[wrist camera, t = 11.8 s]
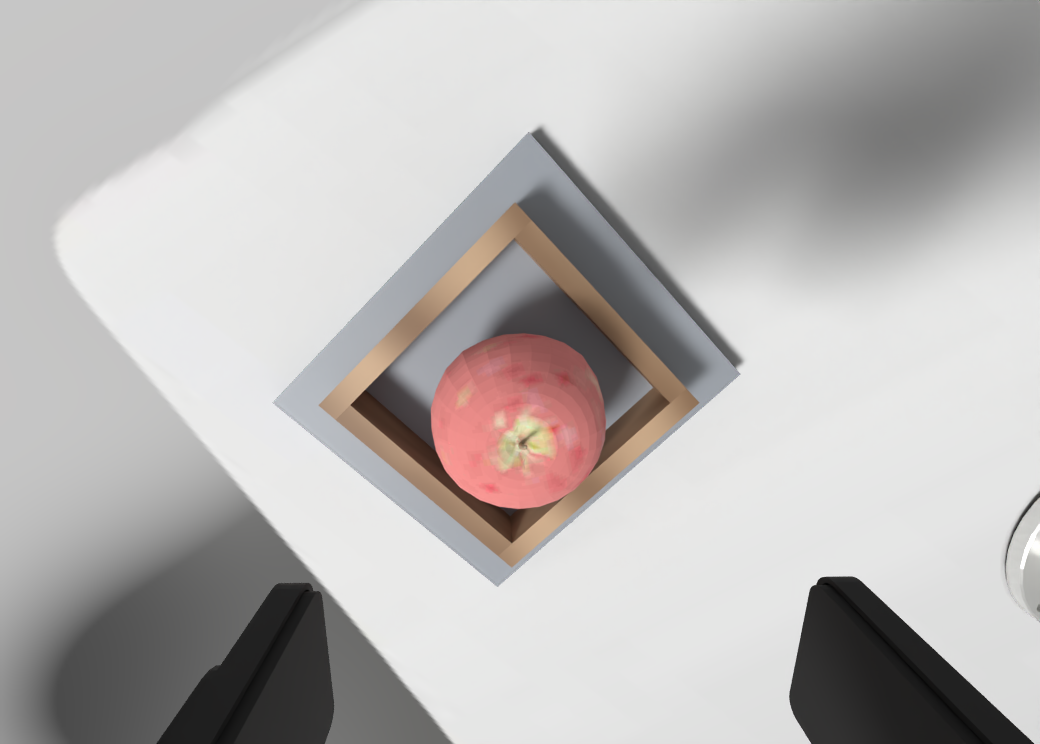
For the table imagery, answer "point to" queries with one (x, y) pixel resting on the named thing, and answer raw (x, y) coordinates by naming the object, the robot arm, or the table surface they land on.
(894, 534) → the table surface
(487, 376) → the apple
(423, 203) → the table surface
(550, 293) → the tray
